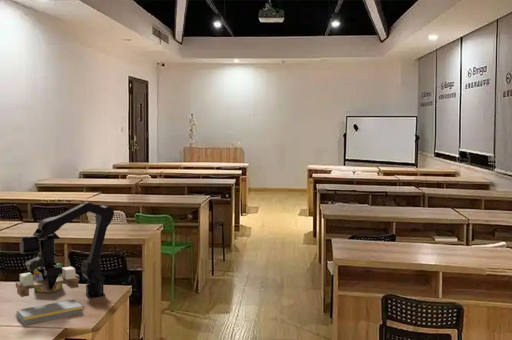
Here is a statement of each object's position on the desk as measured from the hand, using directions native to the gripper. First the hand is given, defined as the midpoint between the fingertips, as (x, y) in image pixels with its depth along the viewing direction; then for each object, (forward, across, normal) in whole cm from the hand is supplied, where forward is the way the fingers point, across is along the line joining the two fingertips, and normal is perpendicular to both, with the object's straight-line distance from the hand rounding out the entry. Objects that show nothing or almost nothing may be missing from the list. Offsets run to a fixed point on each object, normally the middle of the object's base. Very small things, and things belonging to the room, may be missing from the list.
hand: (48, 287), depth 229 cm
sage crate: (-3, 0, -8) cm, 9 cm away
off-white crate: (-3, 0, +8) cm, 9 cm away
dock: (+7, +15, -4) cm, 17 cm away
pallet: (+1, 0, 0) cm, 1 cm away
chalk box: (+7, -20, +6) cm, 22 cm away
